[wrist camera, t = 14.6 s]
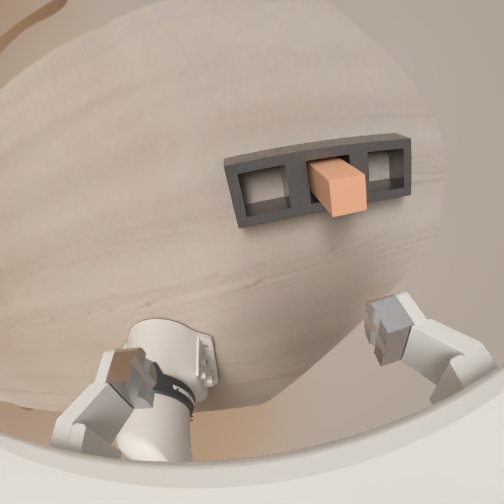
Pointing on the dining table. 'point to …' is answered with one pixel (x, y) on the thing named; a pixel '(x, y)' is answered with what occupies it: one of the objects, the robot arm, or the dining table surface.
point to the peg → (337, 185)
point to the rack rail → (297, 178)
